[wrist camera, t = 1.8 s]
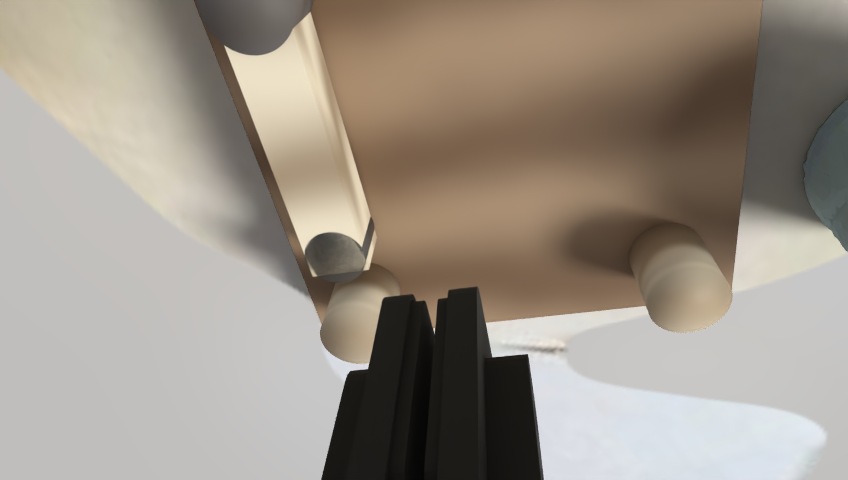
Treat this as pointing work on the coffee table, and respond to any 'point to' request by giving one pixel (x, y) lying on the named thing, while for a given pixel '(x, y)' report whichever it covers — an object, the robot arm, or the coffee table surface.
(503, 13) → the stool seat
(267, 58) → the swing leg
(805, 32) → the coffee table surface
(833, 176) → the teal cup
